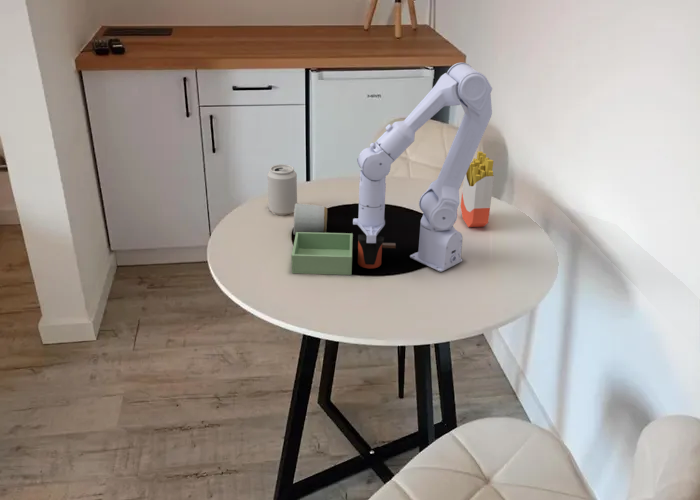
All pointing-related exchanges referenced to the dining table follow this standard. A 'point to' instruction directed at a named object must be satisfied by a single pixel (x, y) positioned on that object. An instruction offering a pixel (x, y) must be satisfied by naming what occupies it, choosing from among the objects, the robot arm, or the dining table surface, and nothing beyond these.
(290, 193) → the can
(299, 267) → the drawer
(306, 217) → the ceramic mug
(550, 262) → the dining table surface
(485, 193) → the french fries container
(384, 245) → the pot
